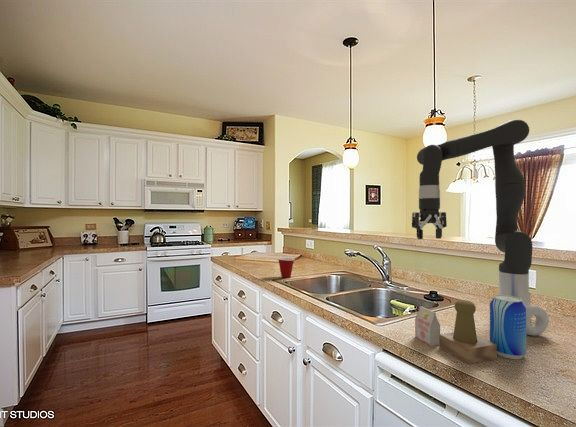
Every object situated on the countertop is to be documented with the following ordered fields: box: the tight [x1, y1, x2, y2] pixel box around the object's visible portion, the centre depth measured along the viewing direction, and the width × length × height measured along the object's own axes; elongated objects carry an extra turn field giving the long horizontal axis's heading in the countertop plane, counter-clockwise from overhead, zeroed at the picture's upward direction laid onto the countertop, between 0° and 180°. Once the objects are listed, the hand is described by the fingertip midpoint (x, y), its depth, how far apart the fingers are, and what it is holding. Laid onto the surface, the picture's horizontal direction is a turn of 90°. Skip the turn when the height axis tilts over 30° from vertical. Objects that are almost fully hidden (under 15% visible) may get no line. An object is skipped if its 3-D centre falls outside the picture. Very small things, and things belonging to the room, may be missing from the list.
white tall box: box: [414, 305, 441, 347], centre depth 94 cm, size 4×7×10 cm, turn 15°
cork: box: [453, 299, 478, 344], centre depth 86 cm, size 6×6×11 cm
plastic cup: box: [277, 257, 296, 279], centre depth 187 cm, size 11×11×12 cm
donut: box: [526, 304, 550, 337], centre depth 98 cm, size 10×4×10 cm, turn 95°
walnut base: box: [438, 331, 498, 365], centre depth 86 cm, size 10×10×4 cm
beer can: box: [489, 294, 527, 360], centre depth 86 cm, size 8×8×16 cm
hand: (429, 238), depth 117 cm, fingers open, 8 cm apart
